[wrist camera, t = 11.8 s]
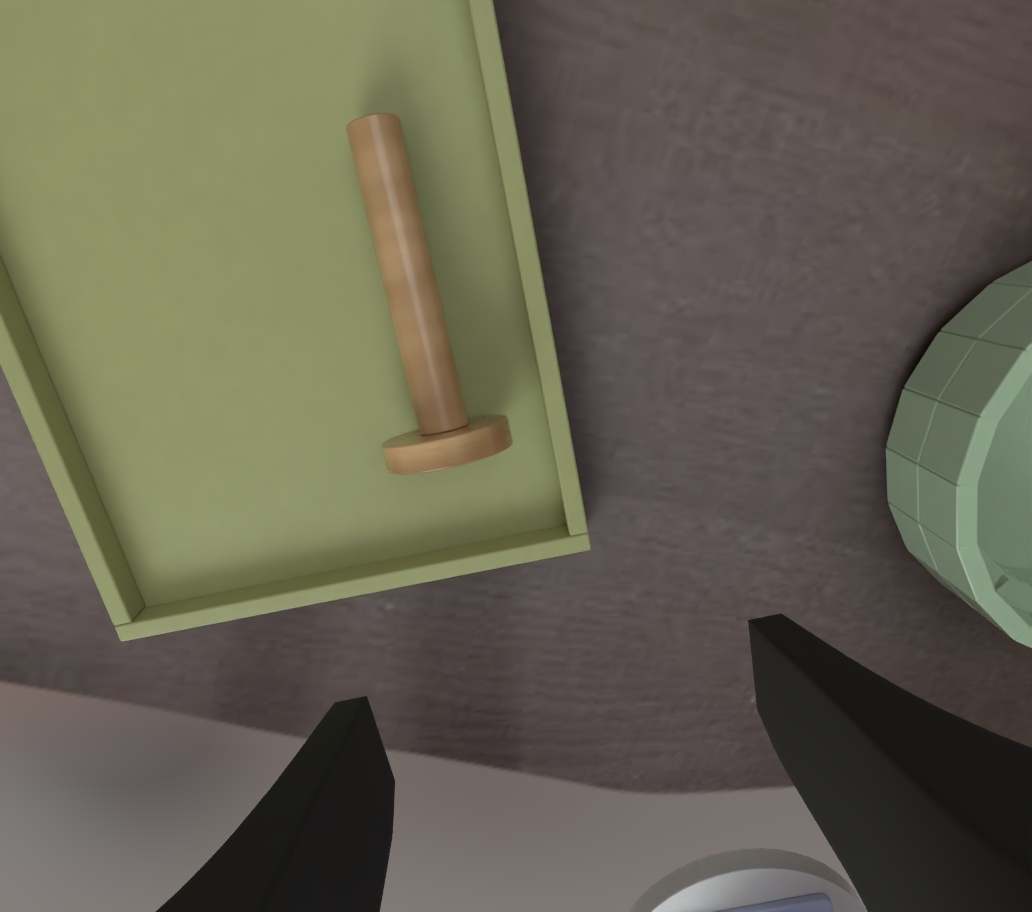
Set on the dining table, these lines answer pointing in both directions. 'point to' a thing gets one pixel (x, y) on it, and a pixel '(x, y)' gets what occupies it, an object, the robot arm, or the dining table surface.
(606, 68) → the dining table surface
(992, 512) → the shallow round dish
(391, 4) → the serving tray
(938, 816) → the robot arm
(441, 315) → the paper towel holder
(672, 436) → the dining table surface
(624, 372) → the dining table surface
